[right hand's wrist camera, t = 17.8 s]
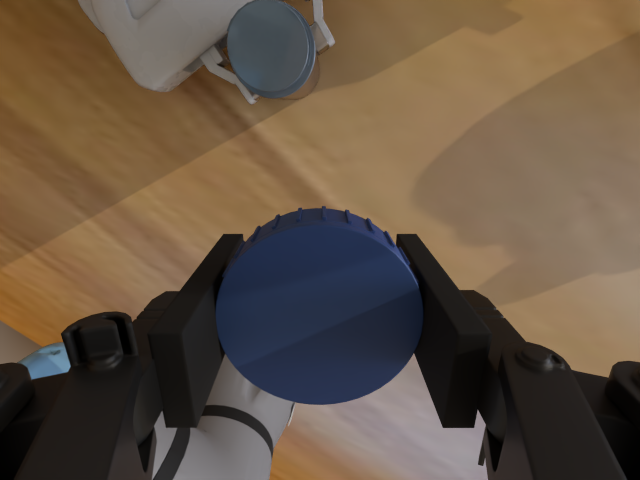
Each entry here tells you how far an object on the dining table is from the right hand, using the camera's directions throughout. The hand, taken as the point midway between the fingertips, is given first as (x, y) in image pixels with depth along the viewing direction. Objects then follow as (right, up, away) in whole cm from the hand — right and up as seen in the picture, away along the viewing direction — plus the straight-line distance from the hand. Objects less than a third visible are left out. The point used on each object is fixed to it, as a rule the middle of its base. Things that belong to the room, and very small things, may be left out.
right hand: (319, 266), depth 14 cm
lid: (0, -1, -4) cm, 4 cm away
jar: (-2, +17, +19) cm, 25 cm away
